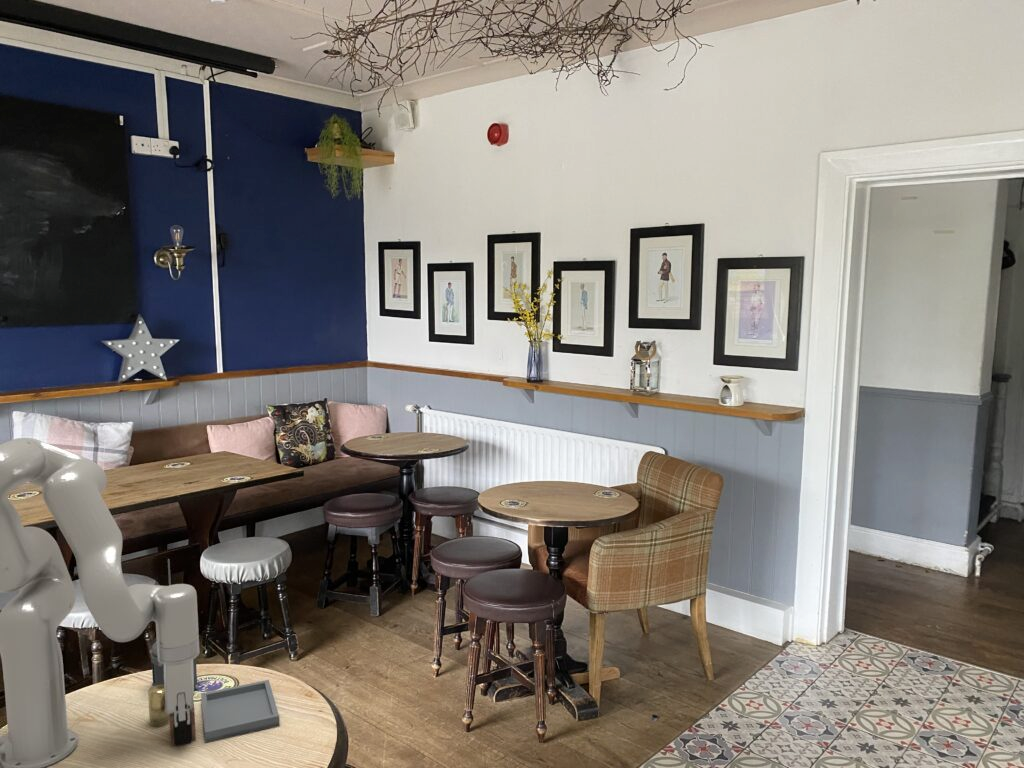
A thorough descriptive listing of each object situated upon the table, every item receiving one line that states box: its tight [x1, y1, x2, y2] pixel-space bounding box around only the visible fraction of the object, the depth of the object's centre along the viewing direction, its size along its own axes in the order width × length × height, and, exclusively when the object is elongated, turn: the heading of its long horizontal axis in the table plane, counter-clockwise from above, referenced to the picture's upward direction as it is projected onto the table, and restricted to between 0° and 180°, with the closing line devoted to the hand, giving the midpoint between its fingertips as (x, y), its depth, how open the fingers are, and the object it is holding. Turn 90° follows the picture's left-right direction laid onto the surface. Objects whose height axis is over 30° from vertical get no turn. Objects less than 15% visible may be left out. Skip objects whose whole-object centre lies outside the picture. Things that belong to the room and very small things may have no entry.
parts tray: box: [200, 679, 280, 744], centre depth 157 cm, size 14×16×2 cm
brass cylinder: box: [147, 684, 170, 728], centre depth 154 cm, size 4×4×7 cm
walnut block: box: [169, 700, 197, 747], centre depth 149 cm, size 4×4×6 cm
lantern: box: [149, 558, 200, 692], centre depth 166 cm, size 11×11×30 cm
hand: (182, 735), depth 149 cm, fingers closed on walnut block, 4 cm apart
